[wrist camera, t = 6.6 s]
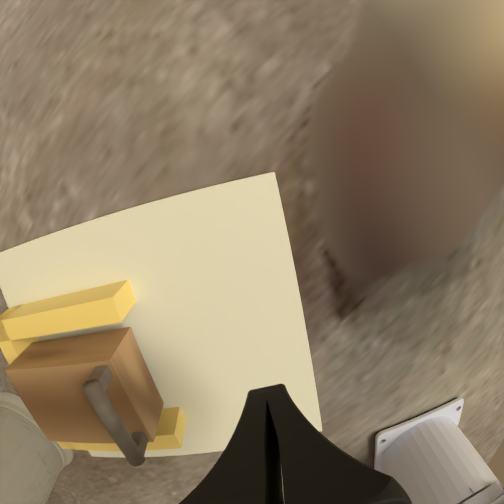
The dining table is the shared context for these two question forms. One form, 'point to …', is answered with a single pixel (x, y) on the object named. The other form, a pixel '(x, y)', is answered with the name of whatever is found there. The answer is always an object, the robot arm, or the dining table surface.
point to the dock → (175, 305)
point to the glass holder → (26, 455)
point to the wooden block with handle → (90, 390)
